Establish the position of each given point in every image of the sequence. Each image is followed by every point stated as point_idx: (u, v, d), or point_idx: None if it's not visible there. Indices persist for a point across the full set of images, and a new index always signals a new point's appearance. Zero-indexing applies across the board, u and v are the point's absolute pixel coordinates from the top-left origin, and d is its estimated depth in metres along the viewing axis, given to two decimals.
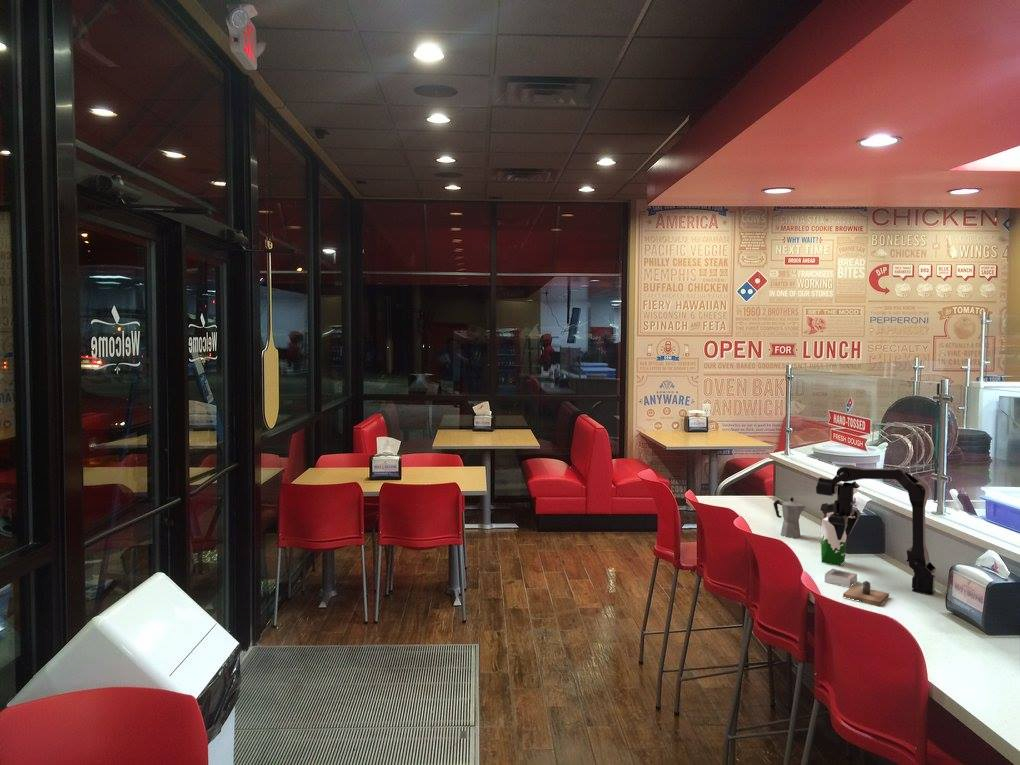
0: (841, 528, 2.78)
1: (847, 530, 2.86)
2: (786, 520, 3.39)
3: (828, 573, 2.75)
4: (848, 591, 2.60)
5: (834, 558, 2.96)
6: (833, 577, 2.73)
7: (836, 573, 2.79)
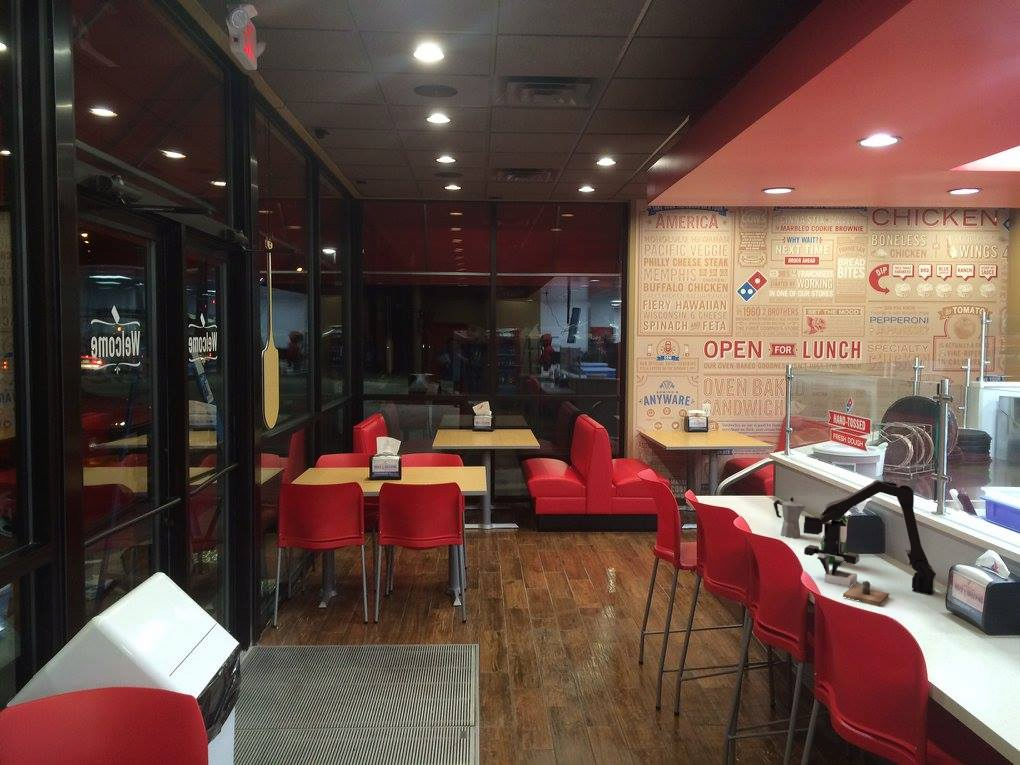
0: None
1: None
2: (786, 520, 3.39)
3: (828, 573, 2.75)
4: (848, 591, 2.60)
5: (834, 558, 2.96)
6: (833, 577, 2.73)
7: (836, 573, 2.79)
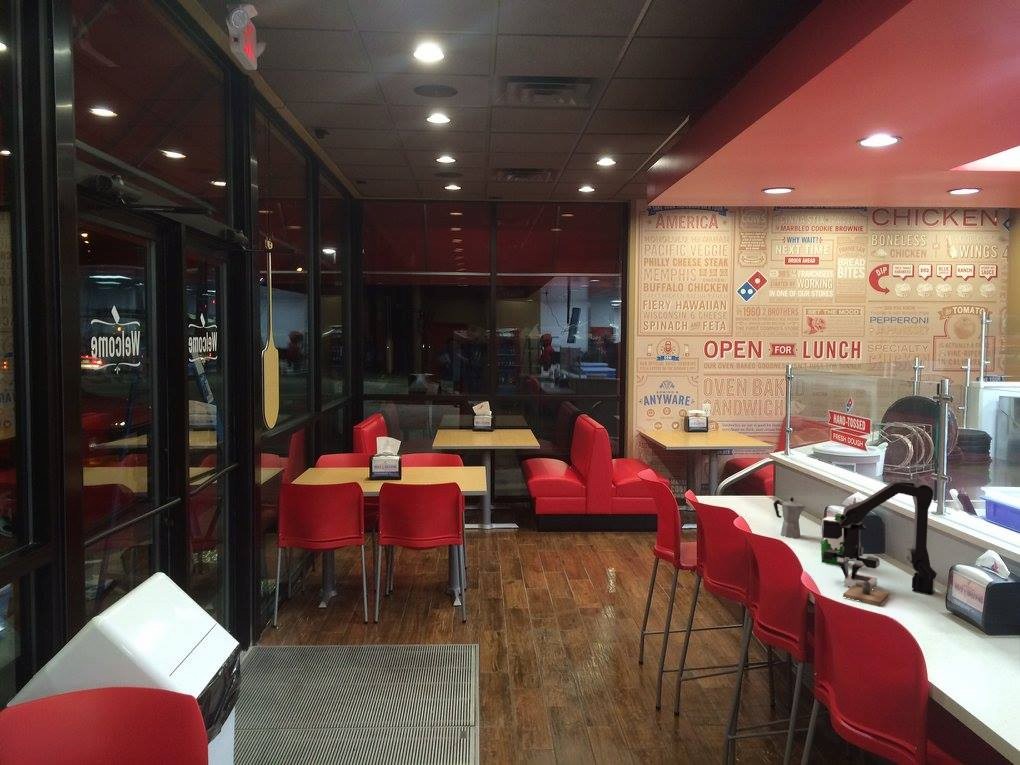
0: None
1: None
2: (786, 520, 3.39)
3: (848, 577, 2.71)
4: (848, 591, 2.60)
5: (834, 558, 2.96)
6: (853, 581, 2.68)
7: (856, 577, 2.75)
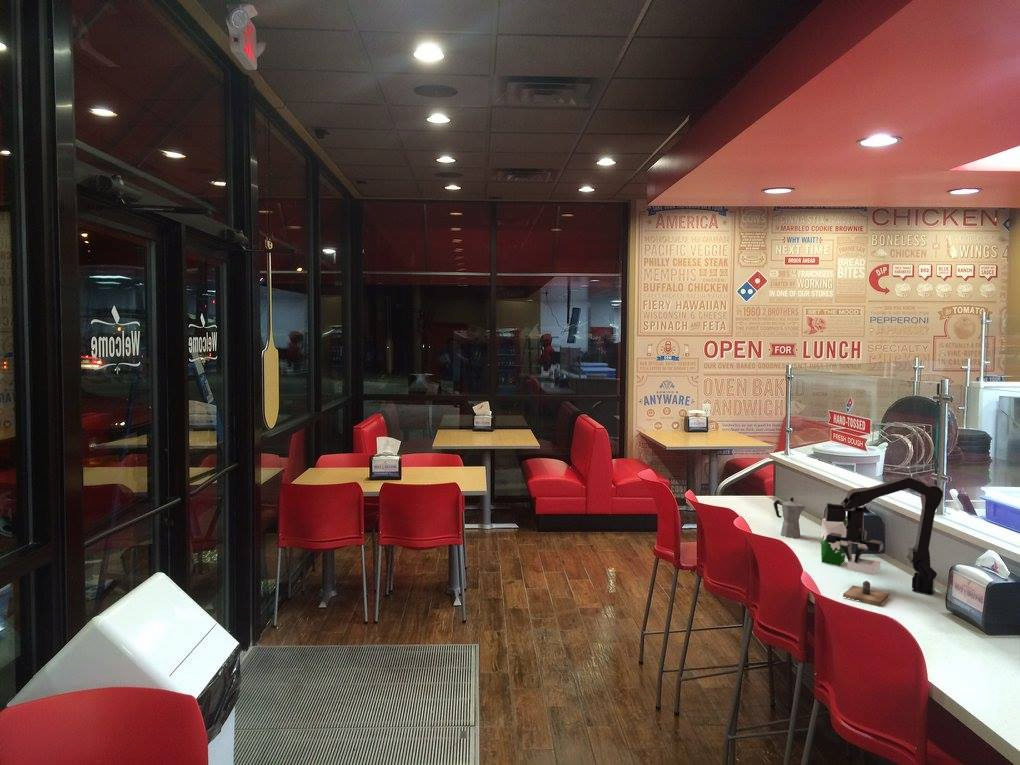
0: None
1: None
2: (786, 520, 3.39)
3: (851, 560, 2.70)
4: (848, 591, 2.60)
5: (834, 558, 2.96)
6: (856, 564, 2.67)
7: (859, 561, 2.73)
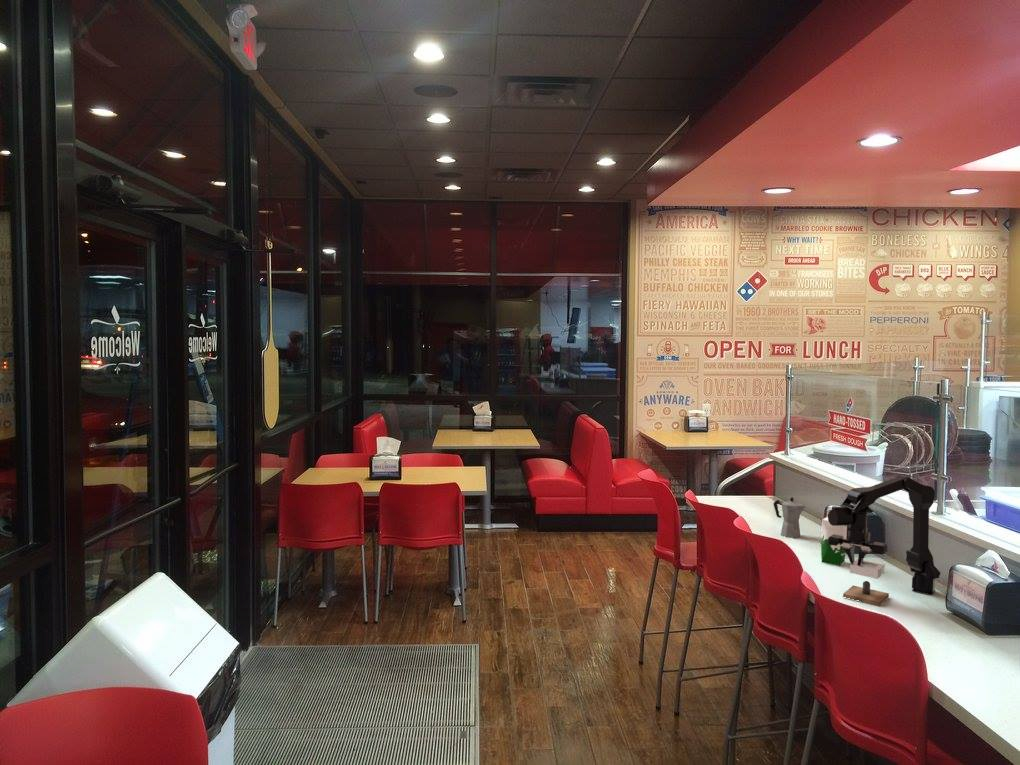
0: None
1: None
2: (786, 520, 3.39)
3: (854, 563, 2.58)
4: (848, 591, 2.60)
5: (834, 558, 2.96)
6: (859, 568, 2.55)
7: (862, 564, 2.62)
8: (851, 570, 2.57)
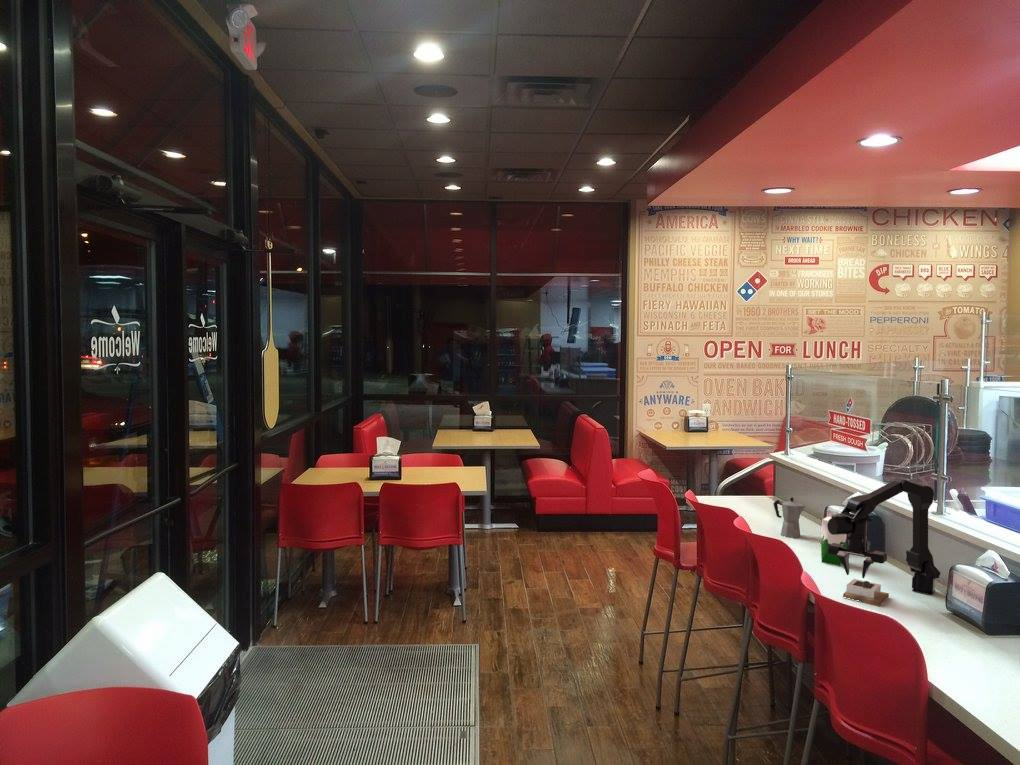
0: None
1: None
2: (786, 520, 3.39)
3: (850, 584, 2.59)
4: None
5: (834, 558, 2.96)
6: (856, 588, 2.56)
7: (858, 584, 2.63)
8: (847, 590, 2.58)
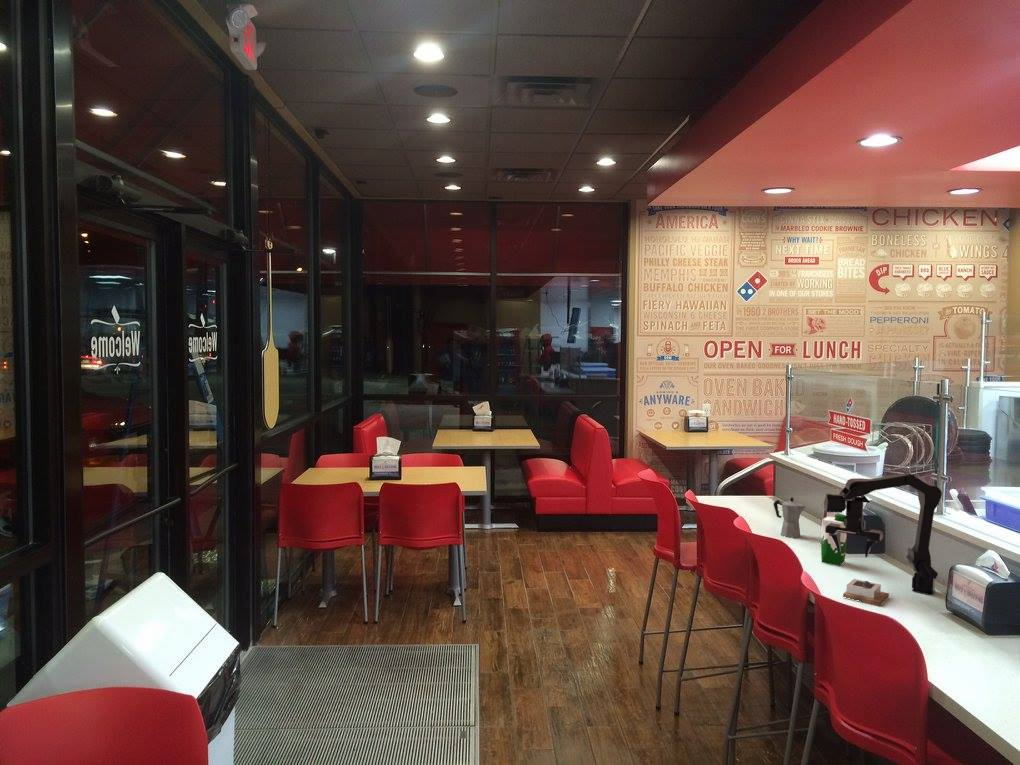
0: None
1: None
2: (786, 520, 3.39)
3: (850, 584, 2.59)
4: None
5: (834, 558, 2.96)
6: (856, 588, 2.56)
7: (858, 584, 2.63)
8: (847, 590, 2.58)
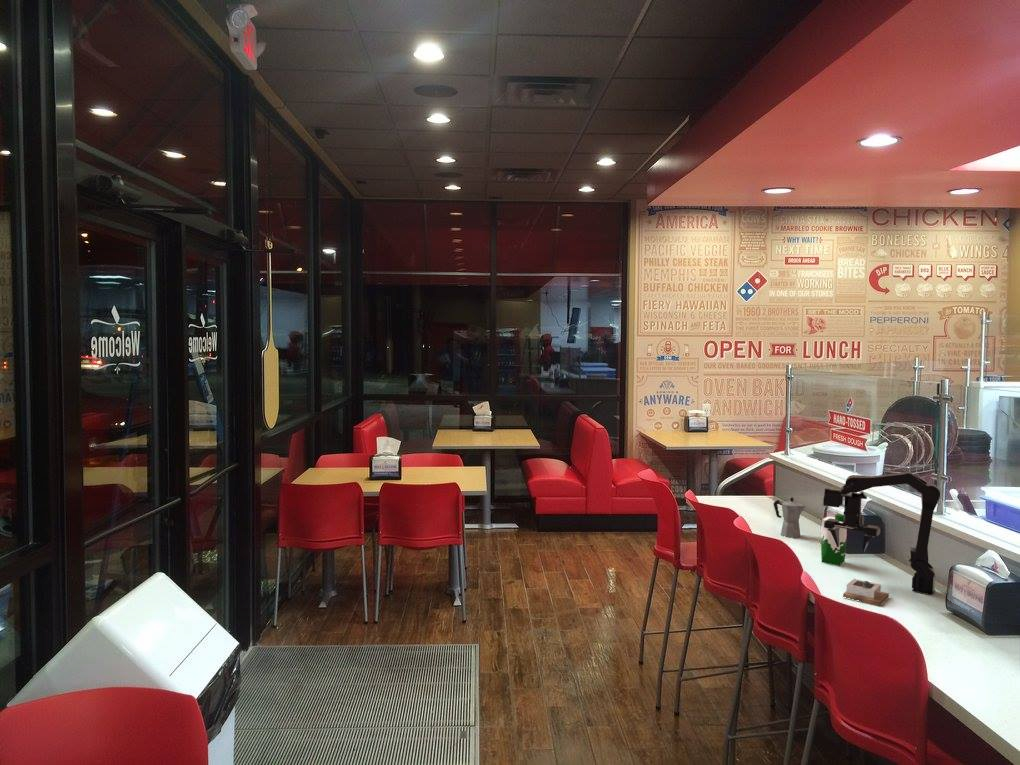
0: None
1: None
2: (786, 520, 3.39)
3: (850, 584, 2.59)
4: None
5: (834, 558, 2.96)
6: (856, 588, 2.56)
7: (858, 584, 2.63)
8: (847, 590, 2.58)
